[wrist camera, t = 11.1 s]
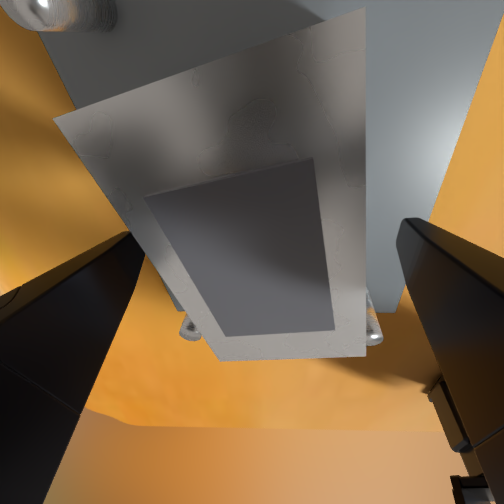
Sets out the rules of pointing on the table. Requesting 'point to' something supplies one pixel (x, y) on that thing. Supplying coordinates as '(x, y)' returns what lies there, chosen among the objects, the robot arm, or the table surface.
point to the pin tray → (277, 25)
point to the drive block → (249, 189)
